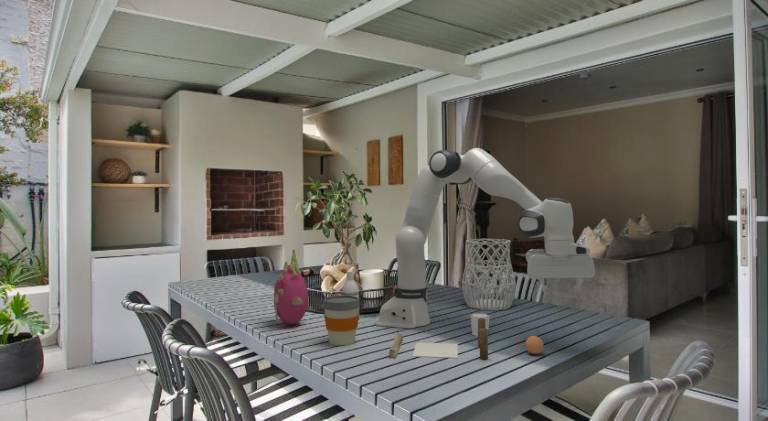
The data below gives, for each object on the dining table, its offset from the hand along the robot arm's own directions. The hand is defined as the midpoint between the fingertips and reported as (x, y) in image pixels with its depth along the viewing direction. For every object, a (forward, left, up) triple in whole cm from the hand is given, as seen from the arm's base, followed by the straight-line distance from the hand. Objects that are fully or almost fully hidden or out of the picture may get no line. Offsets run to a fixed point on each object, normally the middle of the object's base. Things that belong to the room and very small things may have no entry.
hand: (561, 291), depth 151 cm
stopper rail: (-53, -3, -19) cm, 56 cm away
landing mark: (-40, -3, -19) cm, 44 cm away
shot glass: (-25, +17, -19) cm, 36 cm away
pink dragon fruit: (-99, +23, -19) cm, 103 cm away
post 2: (-25, -10, -19) cm, 33 cm away
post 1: (-25, +3, -19) cm, 32 cm away
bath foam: (-77, +34, -19) cm, 86 cm away
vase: (-19, +65, -20) cm, 70 cm away
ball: (-9, -3, -16) cm, 19 cm away
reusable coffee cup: (-73, +3, -19) cm, 75 cm away
